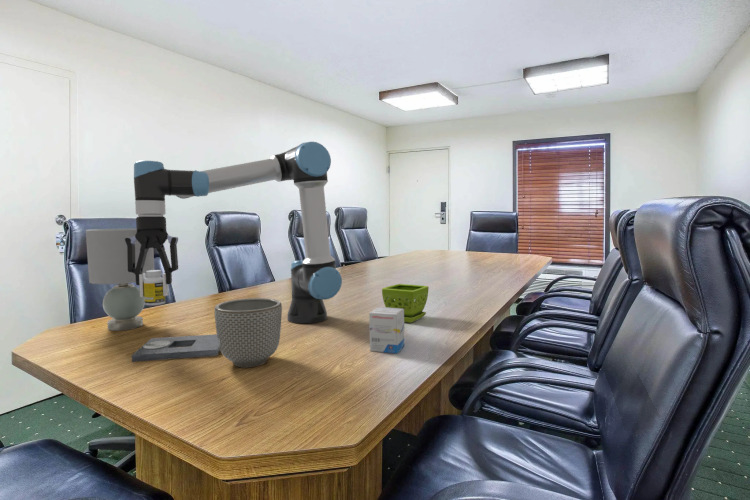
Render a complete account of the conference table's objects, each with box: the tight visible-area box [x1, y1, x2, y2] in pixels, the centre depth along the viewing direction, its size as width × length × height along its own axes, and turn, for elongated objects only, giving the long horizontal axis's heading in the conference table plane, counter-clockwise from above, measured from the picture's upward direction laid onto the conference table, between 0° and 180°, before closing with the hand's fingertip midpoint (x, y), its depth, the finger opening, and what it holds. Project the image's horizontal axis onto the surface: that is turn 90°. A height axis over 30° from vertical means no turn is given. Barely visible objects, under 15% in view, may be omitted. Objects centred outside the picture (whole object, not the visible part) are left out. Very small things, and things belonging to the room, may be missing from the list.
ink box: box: [368, 306, 405, 355], centre depth 120 cm, size 9×8×12 cm
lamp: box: [85, 228, 155, 332], centre depth 144 cm, size 20×20×35 cm
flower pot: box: [381, 283, 430, 323], centre depth 154 cm, size 14×14×13 cm
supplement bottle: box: [144, 269, 166, 306], centre depth 117 cm, size 5×5×10 cm
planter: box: [214, 297, 283, 369], centre depth 108 cm, size 17×17×16 cm
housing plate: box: [131, 333, 221, 363], centre depth 120 cm, size 22×16×2 cm
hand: (154, 295), depth 117 cm, fingers closed on supplement bottle, 5 cm apart
